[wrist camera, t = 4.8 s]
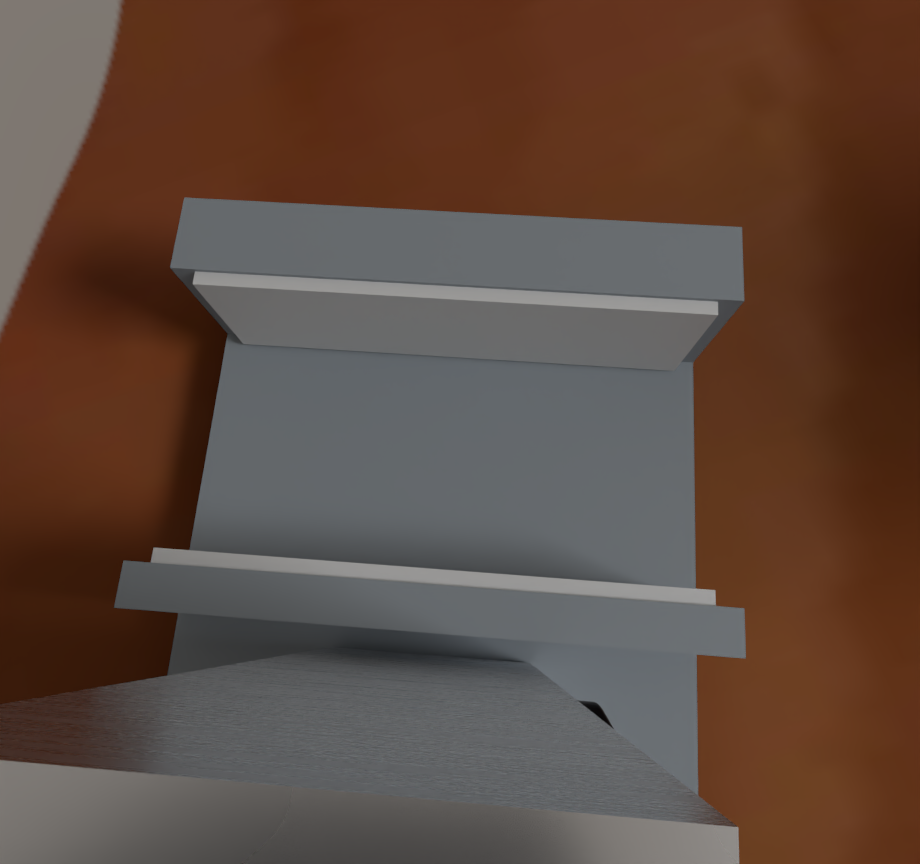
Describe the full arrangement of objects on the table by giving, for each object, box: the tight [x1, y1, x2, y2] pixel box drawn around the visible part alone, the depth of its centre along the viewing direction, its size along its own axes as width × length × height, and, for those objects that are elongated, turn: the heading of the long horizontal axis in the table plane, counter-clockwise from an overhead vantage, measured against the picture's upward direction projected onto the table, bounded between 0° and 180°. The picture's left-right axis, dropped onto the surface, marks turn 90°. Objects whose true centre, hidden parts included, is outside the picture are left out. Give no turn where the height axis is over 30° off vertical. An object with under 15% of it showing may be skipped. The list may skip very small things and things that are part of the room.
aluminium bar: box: [0, 647, 739, 864], centre depth 9 cm, size 4×4×13 cm
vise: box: [114, 198, 746, 795], centre depth 15 cm, size 18×12×4 cm, turn 176°
